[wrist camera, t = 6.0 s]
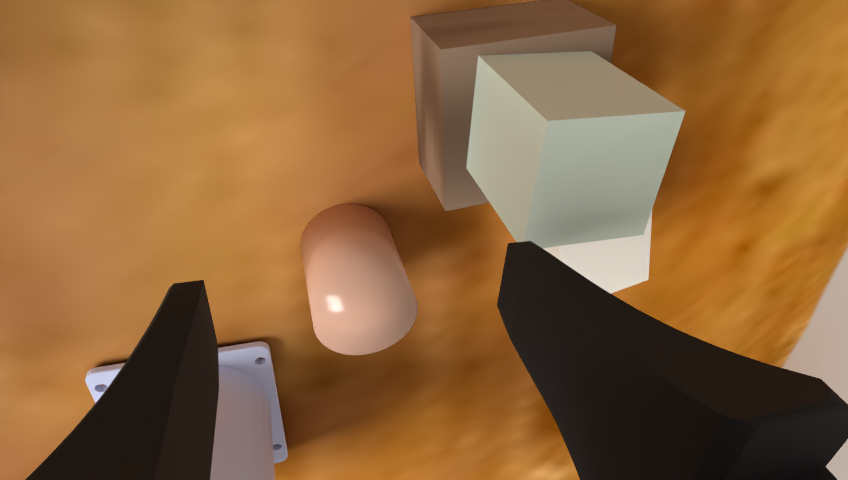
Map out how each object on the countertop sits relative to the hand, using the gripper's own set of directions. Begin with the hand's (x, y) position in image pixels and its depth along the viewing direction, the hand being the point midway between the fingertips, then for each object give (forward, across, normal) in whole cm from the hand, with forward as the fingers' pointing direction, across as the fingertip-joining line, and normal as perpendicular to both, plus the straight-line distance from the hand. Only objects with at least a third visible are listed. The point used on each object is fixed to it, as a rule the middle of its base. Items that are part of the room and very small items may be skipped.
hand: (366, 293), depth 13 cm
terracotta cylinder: (+10, -1, +6) cm, 12 cm away
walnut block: (+10, -7, -1) cm, 13 cm away
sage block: (+6, -7, -2) cm, 10 cm away
